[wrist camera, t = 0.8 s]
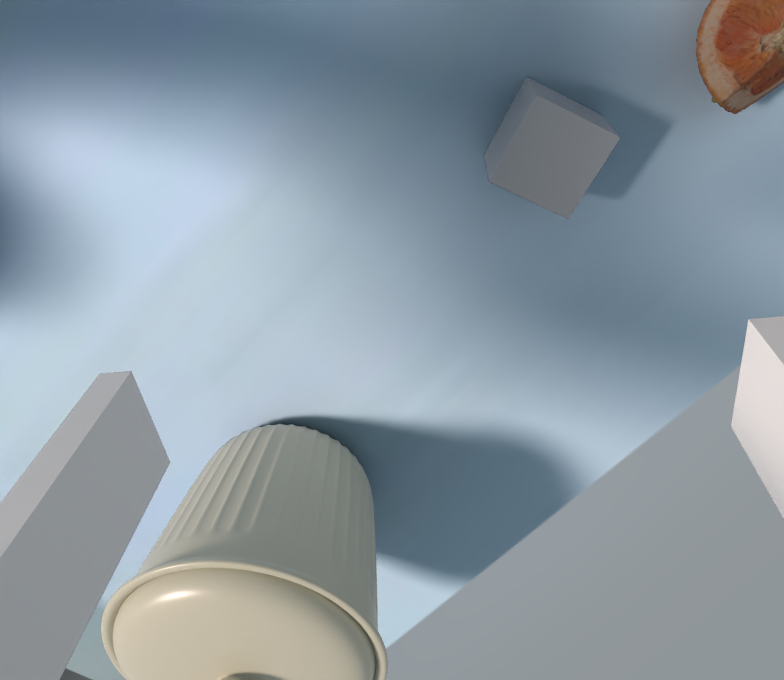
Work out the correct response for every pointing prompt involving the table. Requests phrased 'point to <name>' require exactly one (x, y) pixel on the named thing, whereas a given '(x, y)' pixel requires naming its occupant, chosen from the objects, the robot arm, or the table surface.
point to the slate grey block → (548, 148)
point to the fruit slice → (741, 50)
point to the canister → (258, 571)
